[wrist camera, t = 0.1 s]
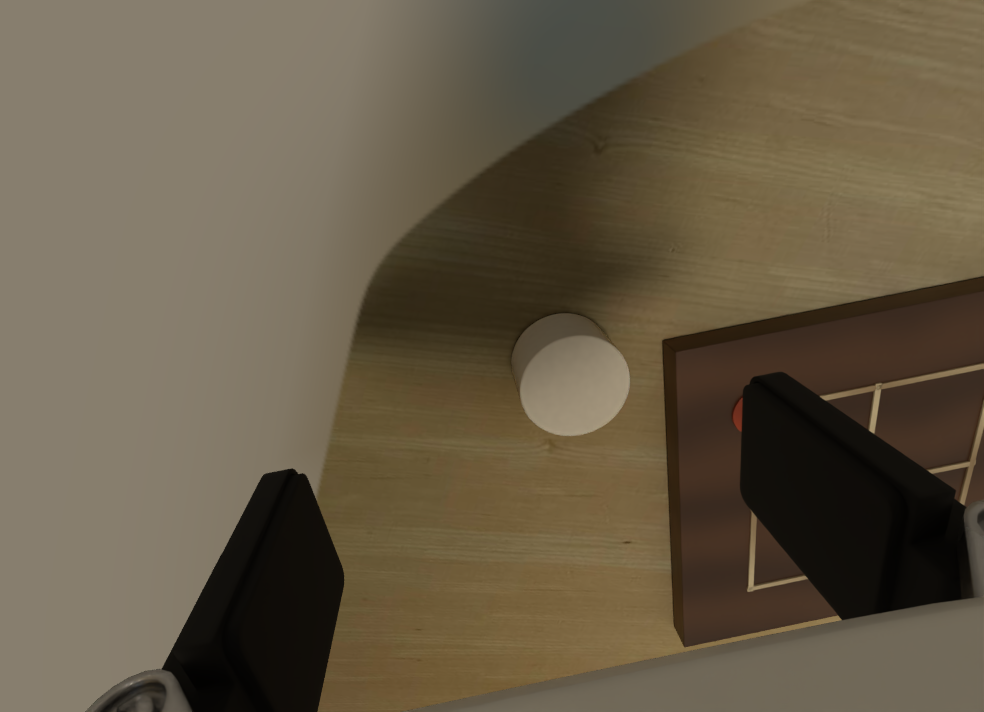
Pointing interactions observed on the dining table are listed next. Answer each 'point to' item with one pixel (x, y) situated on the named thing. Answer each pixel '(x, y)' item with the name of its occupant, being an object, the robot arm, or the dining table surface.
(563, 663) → the dining table surface
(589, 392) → the beige round puck
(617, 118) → the dining table surface
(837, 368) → the board
